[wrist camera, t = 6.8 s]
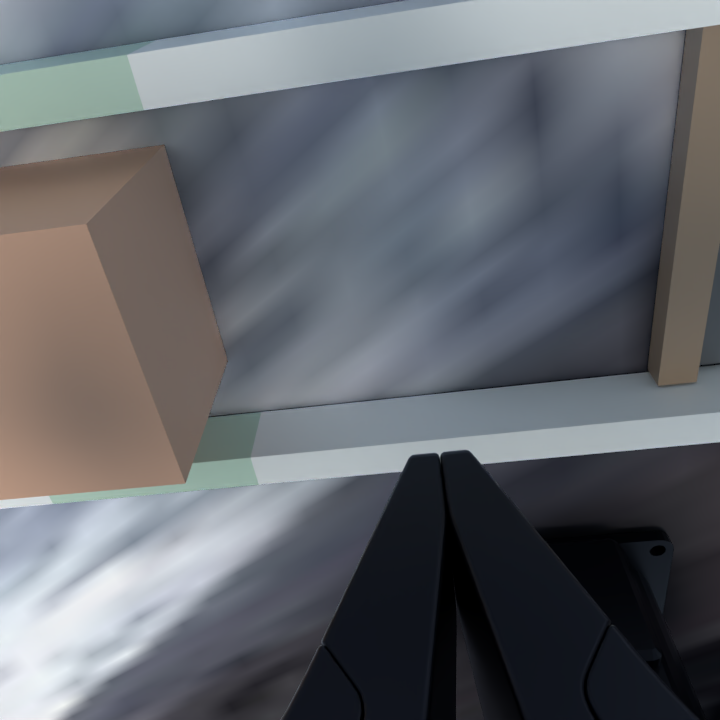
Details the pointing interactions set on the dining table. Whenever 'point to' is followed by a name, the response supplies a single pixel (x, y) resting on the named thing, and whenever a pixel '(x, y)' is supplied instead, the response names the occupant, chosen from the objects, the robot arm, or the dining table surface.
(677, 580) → the dining table surface
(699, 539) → the dining table surface
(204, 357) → the block
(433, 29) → the trap lane
